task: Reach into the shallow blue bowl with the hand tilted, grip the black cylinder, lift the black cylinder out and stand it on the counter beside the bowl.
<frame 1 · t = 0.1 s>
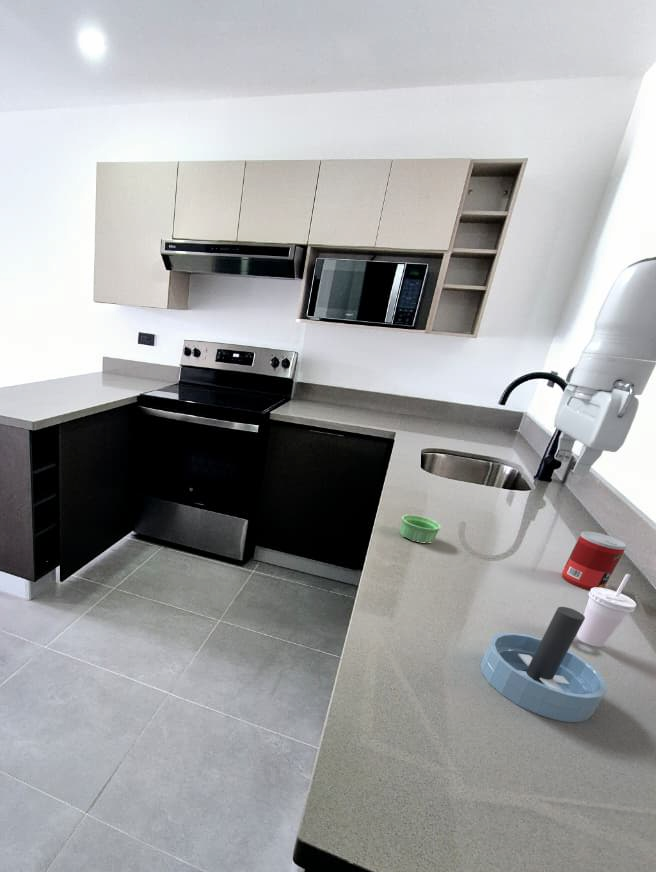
hand: (568, 467, 80), 30 cm above the worktop, tool pointing down, fingers open, 8 cm apart
black cylinder: (533, 685, 75), point 1 cm above the worktop, touching shallow blue bowl
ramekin: (415, 538, 126), on the worktop
shallow blue bowl: (532, 688, 75), on the worktop
canned food: (581, 583, 113), on the worktop
smoothie: (587, 643, 89), on the worktop
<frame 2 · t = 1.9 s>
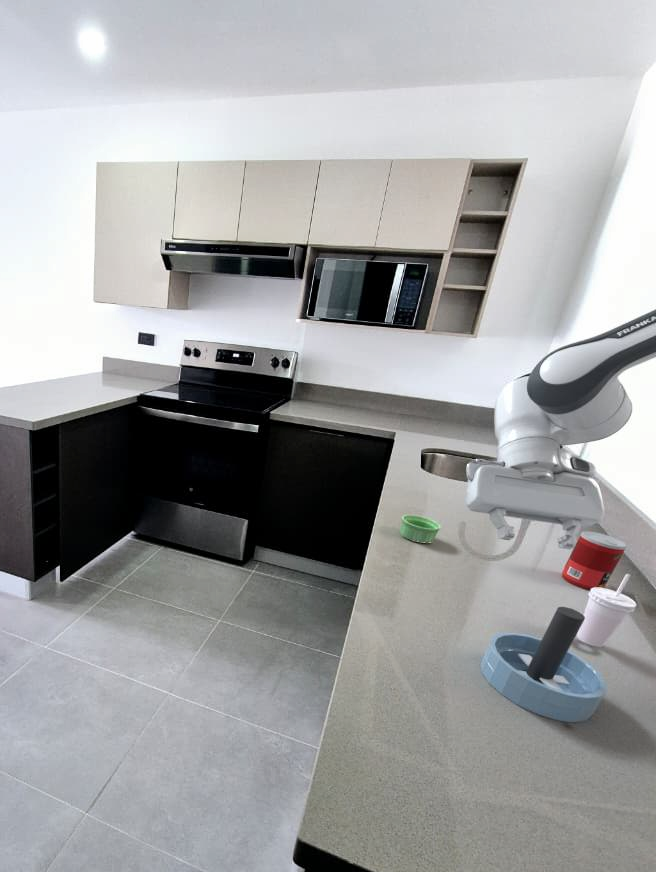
hand: (537, 543, 79), 19 cm above the worktop, tool tilted 45°, fingers open, 8 cm apart
nothing on the worktop moved.
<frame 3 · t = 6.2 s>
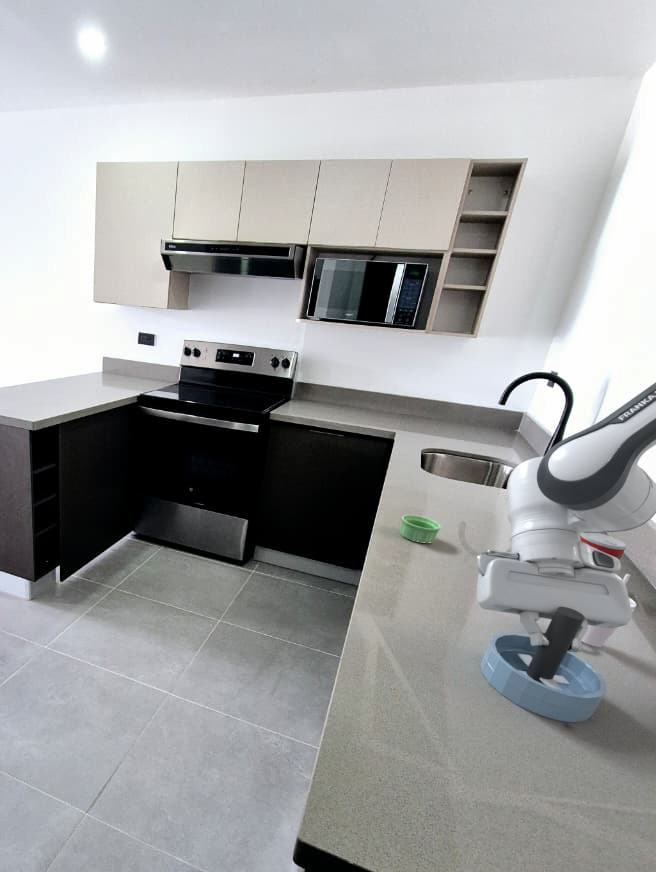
hand: (556, 648, 71), 8 cm above the worktop, tool tilted 45°, fingers closed on black cylinder, 3 cm apart
black cylinder: (533, 685, 75), point 1 cm above the worktop, touching gripper, shallow blue bowl
everything else where it was.
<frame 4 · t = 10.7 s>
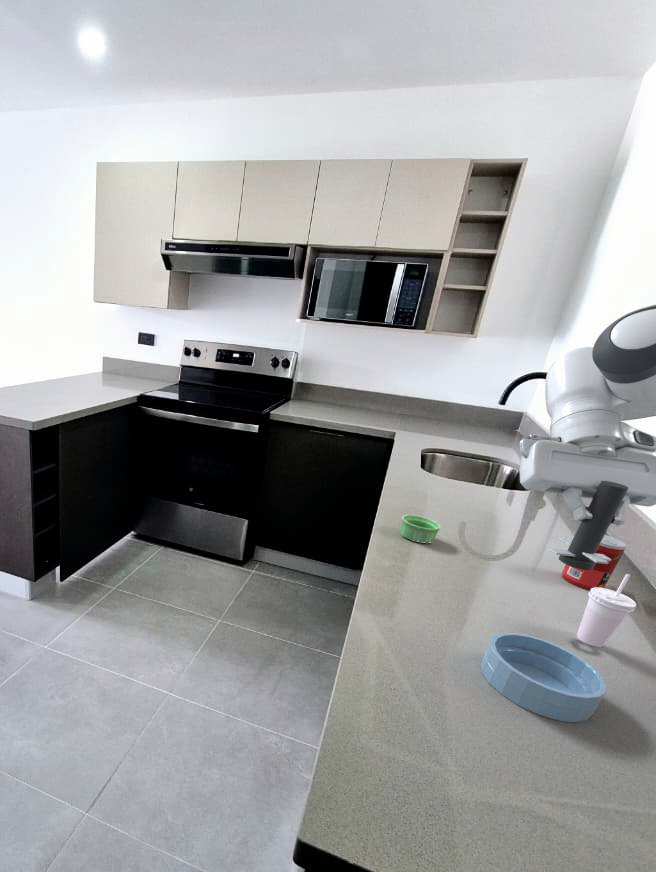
hand: (599, 522, 74), 24 cm above the worktop, tool tilted 45°, fingers closed on black cylinder, 3 cm apart
black cylinder: (575, 563, 77), point 17 cm above the worktop, touching gripper
everything else where it was.
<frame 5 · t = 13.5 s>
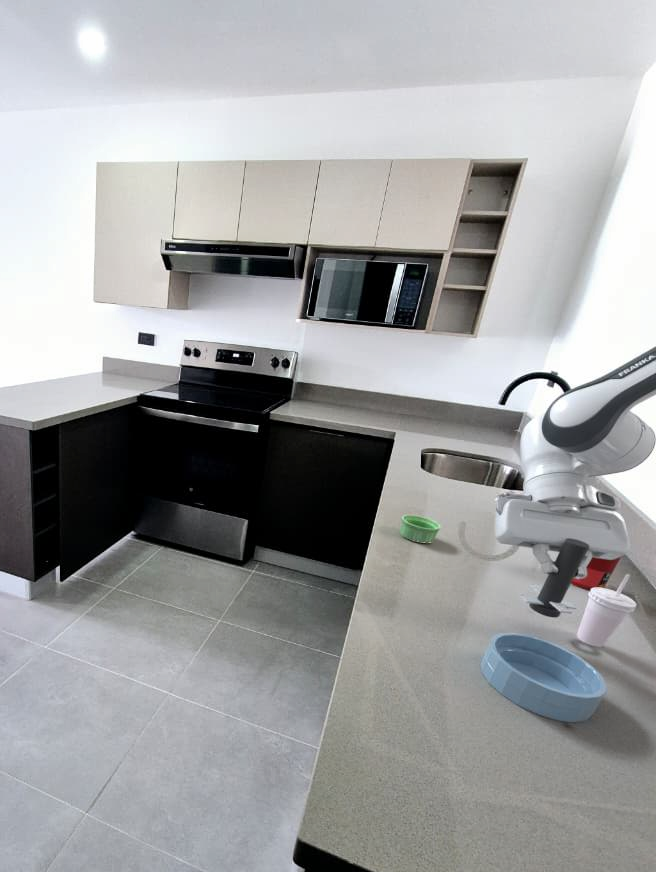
hand: (564, 575, 82), 13 cm above the worktop, tool tilted 45°, fingers closed on black cylinder, 3 cm apart
black cylinder: (544, 610, 86), point 6 cm above the worktop, touching gripper
everything else where it was.
when the fingers open (7 cm above the worktop, at t = 15.3 s): black cylinder stays where it is, on the worktop.
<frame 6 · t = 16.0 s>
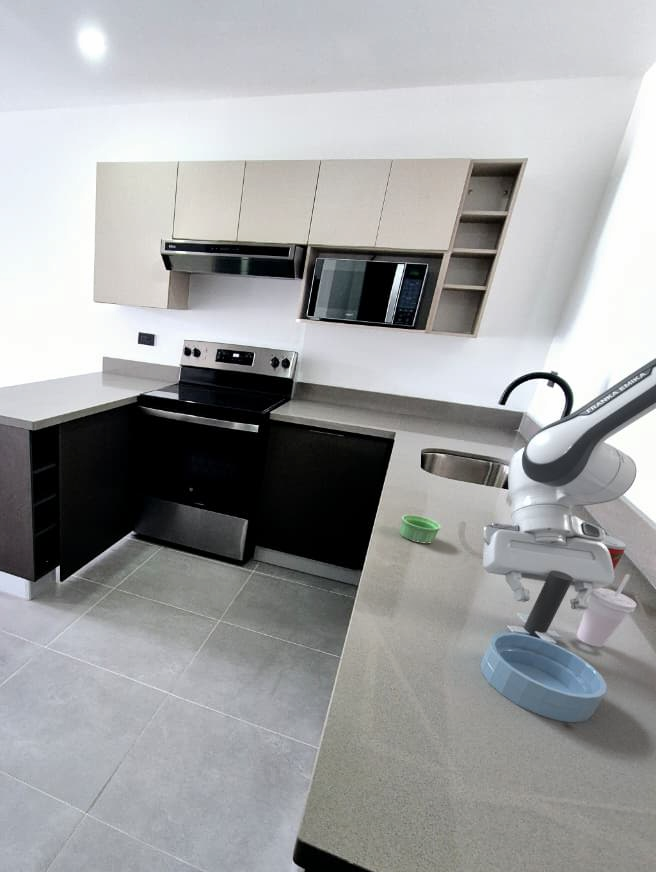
hand: (550, 605, 84), 8 cm above the worktop, tool tilted 45°, fingers open, 8 cm apart
black cylinder: (530, 639, 88), on the worktop
everything else where it was.
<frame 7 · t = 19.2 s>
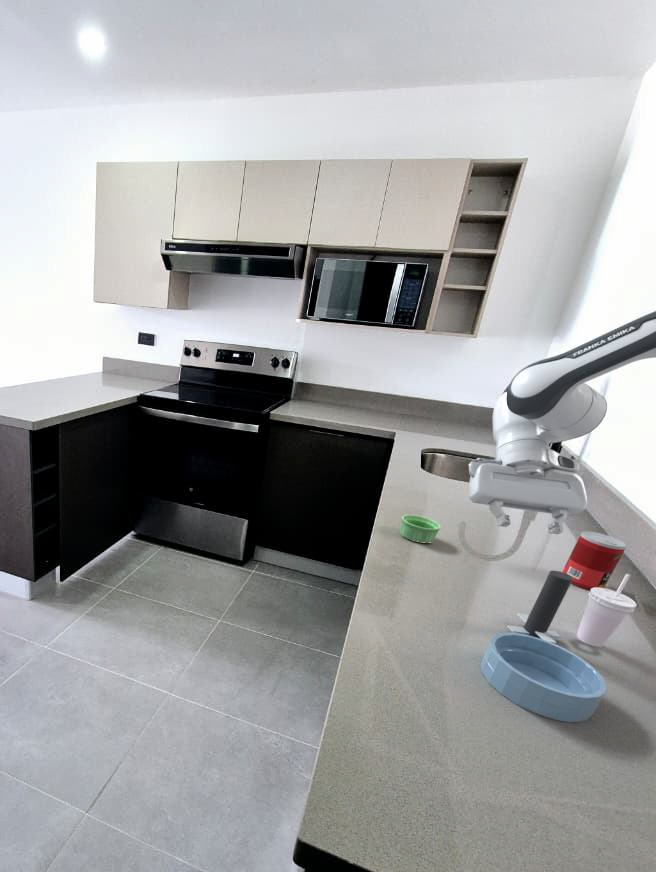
hand: (530, 529, 93), 16 cm above the worktop, tool tilted 45°, fingers open, 8 cm apart
nothing on the worktop moved.
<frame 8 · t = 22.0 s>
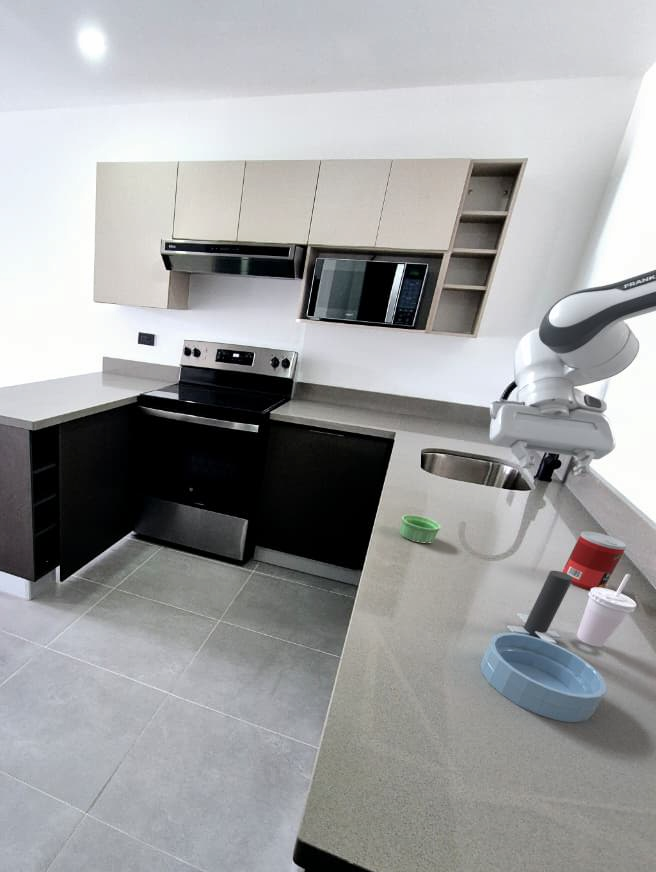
hand: (554, 471, 88), 27 cm above the worktop, tool tilted 45°, fingers open, 8 cm apart
nothing on the worktop moved.
at the end: black cylinder inside the target area (0.1 cm from its centre), on the worktop; black cylinder tilted 0°; the gripper is holding nothing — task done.
